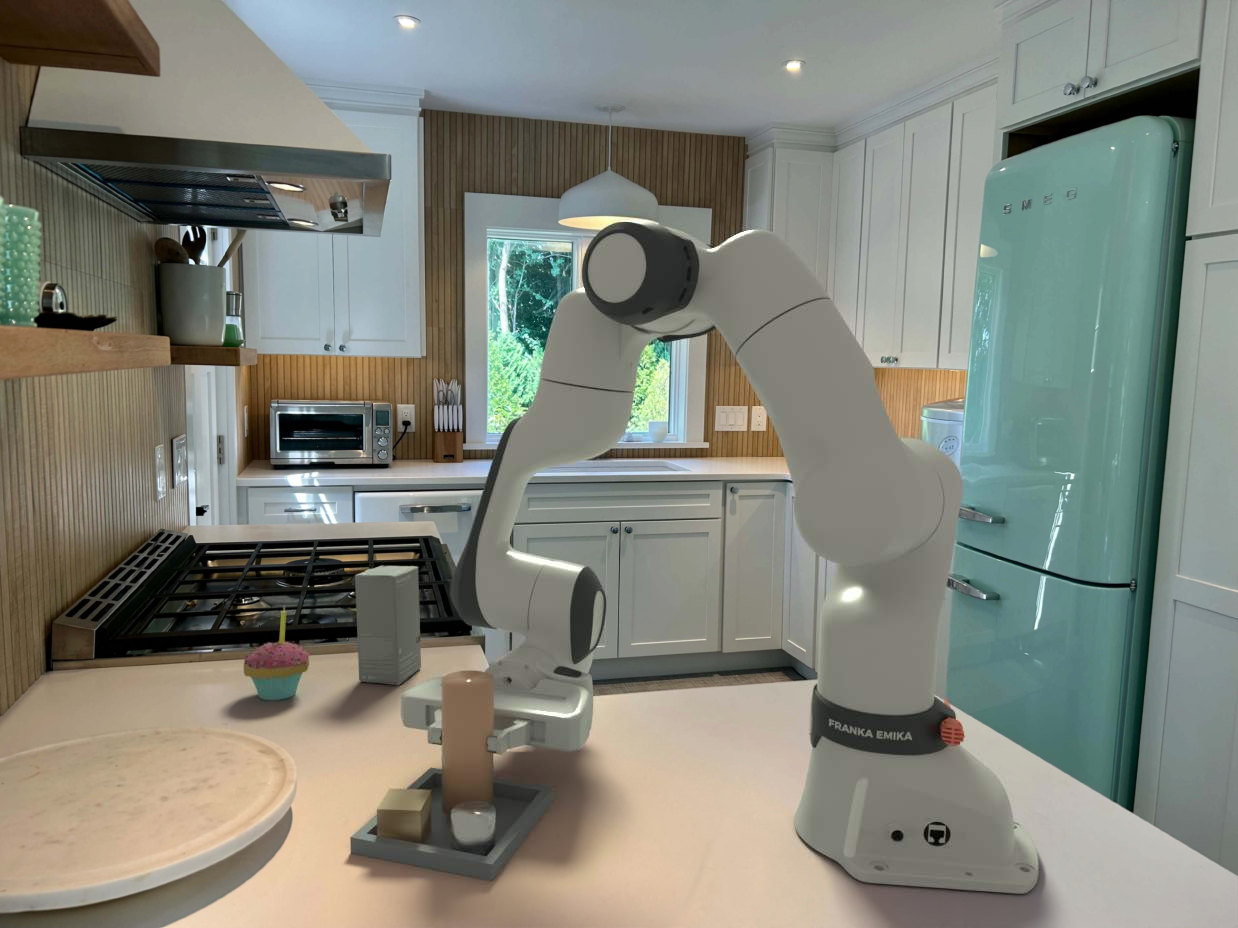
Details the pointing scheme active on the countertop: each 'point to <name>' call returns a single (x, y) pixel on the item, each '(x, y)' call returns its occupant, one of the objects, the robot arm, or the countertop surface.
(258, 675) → the cupcake
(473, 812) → the part metal
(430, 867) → the parts tray
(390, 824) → the part oak
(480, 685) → the canister
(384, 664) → the skincare box
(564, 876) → the countertop surface
